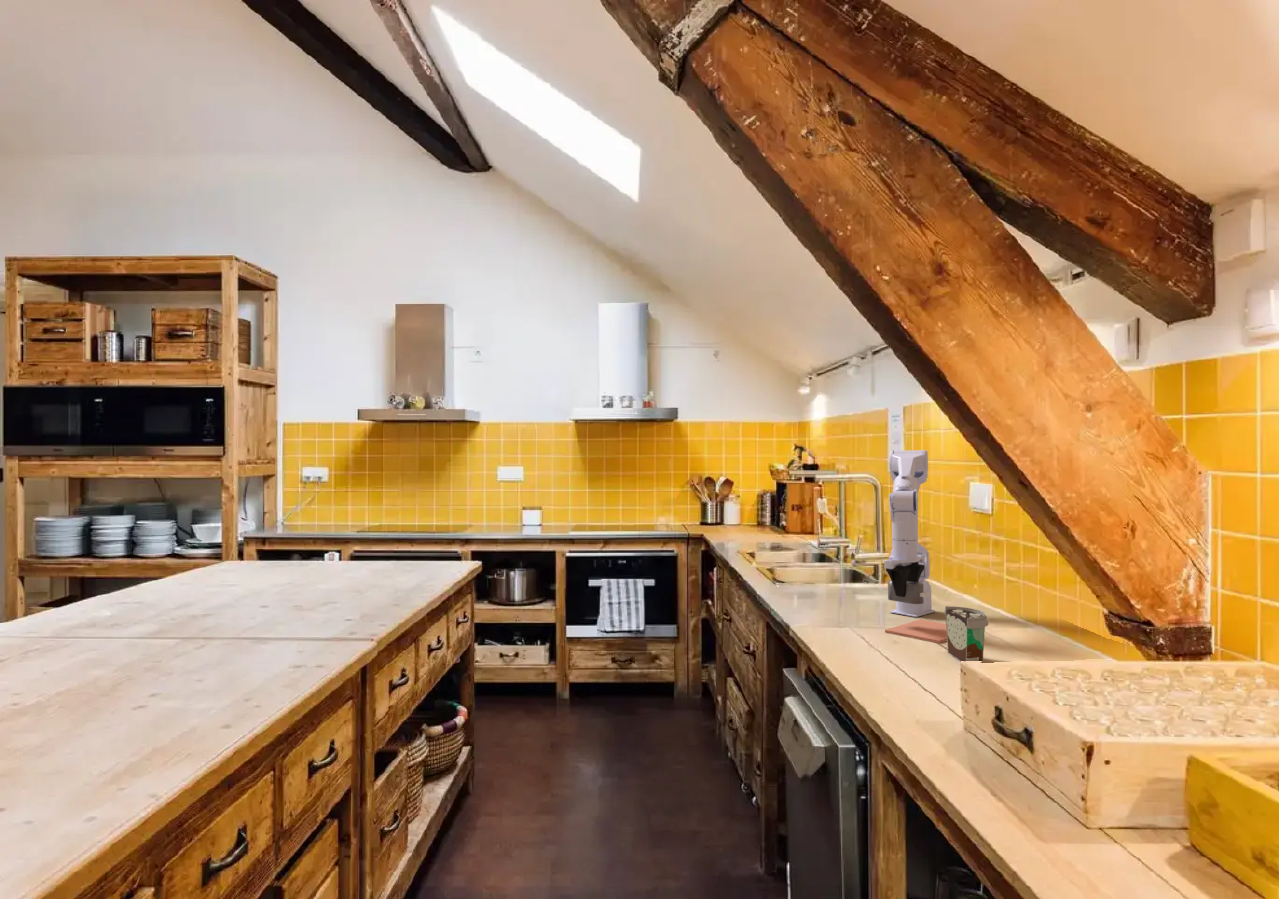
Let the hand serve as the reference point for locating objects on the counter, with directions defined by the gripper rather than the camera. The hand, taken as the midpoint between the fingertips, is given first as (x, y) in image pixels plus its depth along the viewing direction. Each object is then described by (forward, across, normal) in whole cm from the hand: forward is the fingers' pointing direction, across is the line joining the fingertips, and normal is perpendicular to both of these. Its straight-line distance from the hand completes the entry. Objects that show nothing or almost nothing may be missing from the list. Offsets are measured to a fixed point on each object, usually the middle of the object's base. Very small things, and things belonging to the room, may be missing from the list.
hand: (905, 595), depth 181 cm
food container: (+9, +13, +23) cm, 28 cm away
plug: (+1, 0, 0) cm, 1 cm away
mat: (+8, -2, +5) cm, 10 cm away
